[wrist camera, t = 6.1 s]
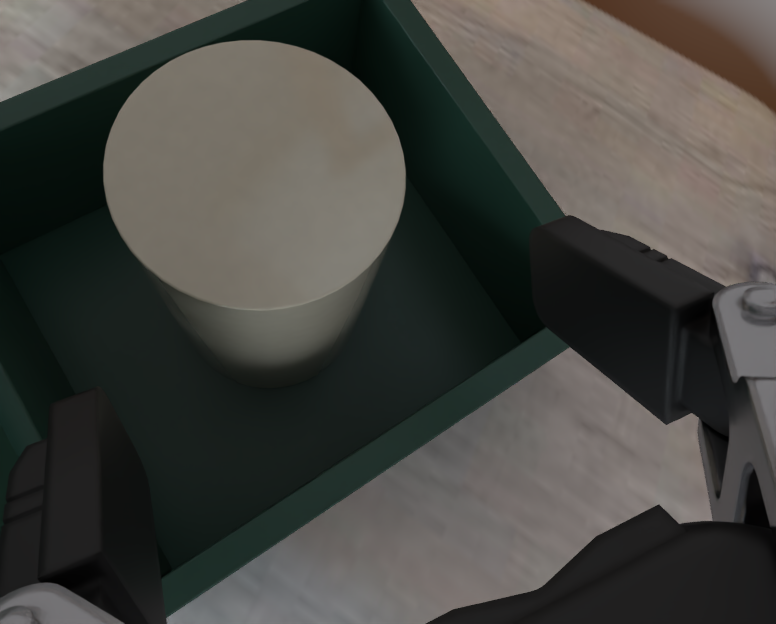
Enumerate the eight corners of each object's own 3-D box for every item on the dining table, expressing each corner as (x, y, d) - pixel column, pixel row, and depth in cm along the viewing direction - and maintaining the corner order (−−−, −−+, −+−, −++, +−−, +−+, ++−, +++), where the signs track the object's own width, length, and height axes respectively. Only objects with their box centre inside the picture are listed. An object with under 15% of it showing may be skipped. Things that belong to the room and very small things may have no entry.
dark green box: (352, 78, 27) (373, -53, 20) (541, 354, 25) (631, 305, 18) (-24, 255, 23) (-148, 161, 16) (166, 604, 21) (112, 654, 14)
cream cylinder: (301, 192, 24) (310, -1, 15) (390, 330, 23) (461, 219, 14) (147, 271, 23) (46, 111, 13) (237, 423, 22) (198, 368, 12)
